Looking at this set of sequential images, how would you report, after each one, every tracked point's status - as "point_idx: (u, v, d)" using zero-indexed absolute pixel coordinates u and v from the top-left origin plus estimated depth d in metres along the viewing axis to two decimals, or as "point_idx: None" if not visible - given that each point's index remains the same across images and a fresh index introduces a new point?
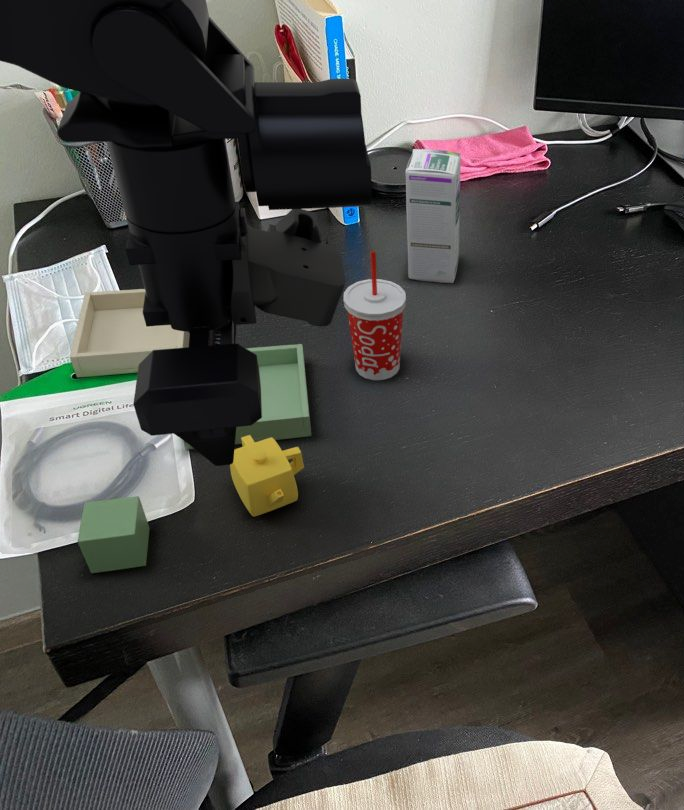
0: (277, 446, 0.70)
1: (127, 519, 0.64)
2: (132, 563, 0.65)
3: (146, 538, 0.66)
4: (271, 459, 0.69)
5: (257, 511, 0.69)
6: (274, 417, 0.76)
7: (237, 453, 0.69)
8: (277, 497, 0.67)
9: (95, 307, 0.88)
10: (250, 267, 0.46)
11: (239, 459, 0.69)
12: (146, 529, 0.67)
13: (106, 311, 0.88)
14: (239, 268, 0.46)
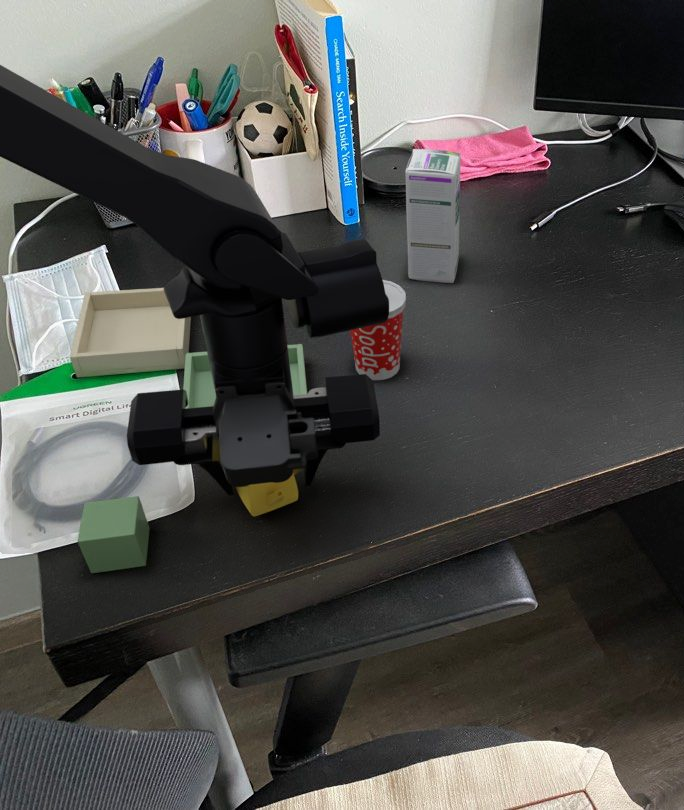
0: None
1: (127, 519, 0.64)
2: (132, 563, 0.65)
3: (146, 538, 0.66)
4: None
5: (257, 511, 0.69)
6: None
7: None
8: (277, 497, 0.67)
9: (95, 307, 0.88)
10: (223, 404, 0.60)
11: None
12: (146, 529, 0.67)
13: (106, 311, 0.88)
14: (216, 397, 0.60)
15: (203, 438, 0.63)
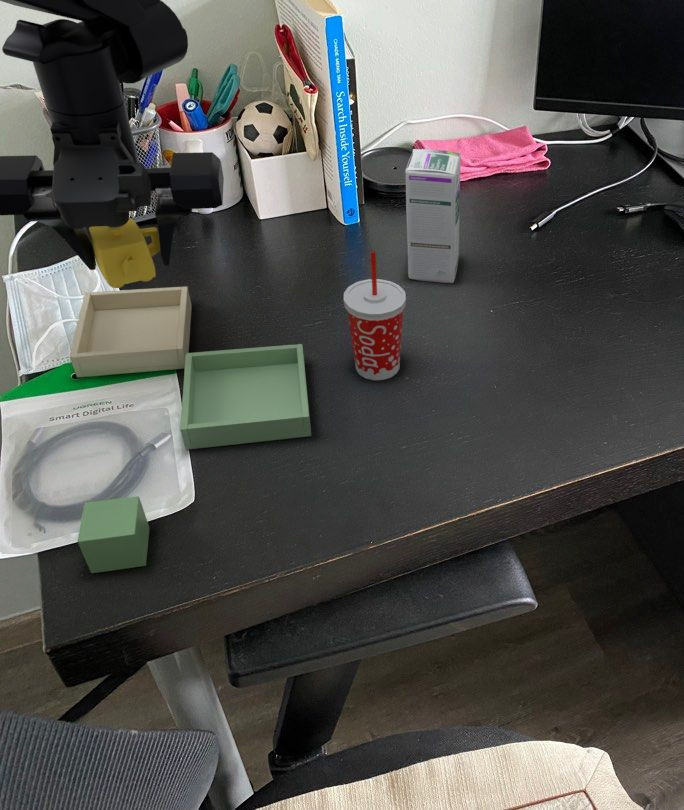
0: (135, 225, 0.76)
1: (127, 519, 0.64)
2: (132, 563, 0.65)
3: (146, 538, 0.66)
4: (127, 233, 0.75)
5: (114, 281, 0.74)
6: (274, 417, 0.76)
7: (95, 228, 0.75)
8: (128, 262, 0.72)
9: (95, 307, 0.88)
10: (61, 152, 0.65)
11: (97, 232, 0.74)
12: (146, 529, 0.67)
13: (106, 311, 0.88)
14: None
15: (50, 195, 0.69)
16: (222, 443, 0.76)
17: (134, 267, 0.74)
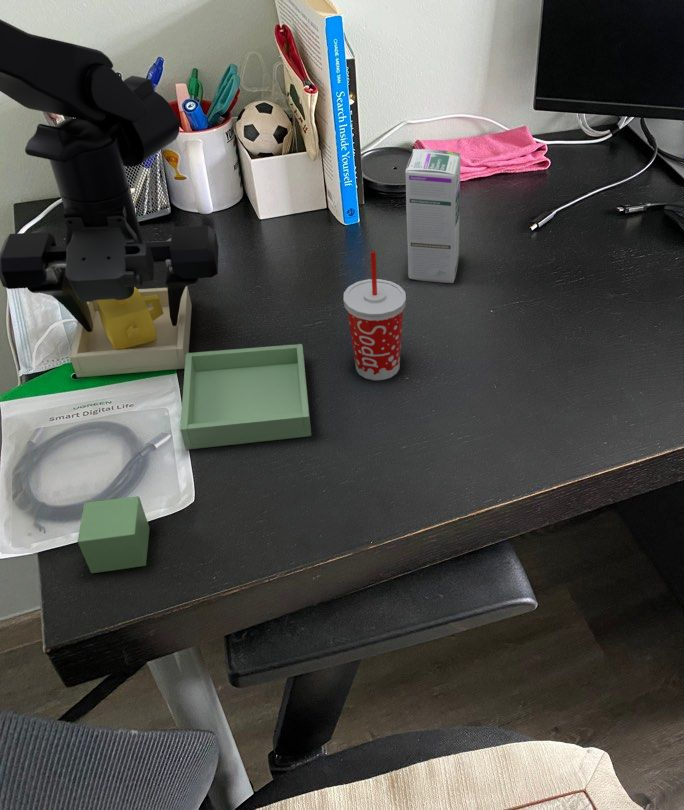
0: (138, 293, 0.84)
1: (127, 519, 0.64)
2: (132, 563, 0.65)
3: (146, 538, 0.66)
4: (131, 302, 0.82)
5: (119, 345, 0.82)
6: (274, 417, 0.76)
7: None
8: (132, 329, 0.80)
9: (95, 307, 0.88)
10: (73, 233, 0.73)
11: (104, 301, 0.82)
12: (146, 529, 0.67)
13: None
14: None
15: (52, 269, 0.76)
16: (222, 443, 0.76)
17: (138, 333, 0.81)
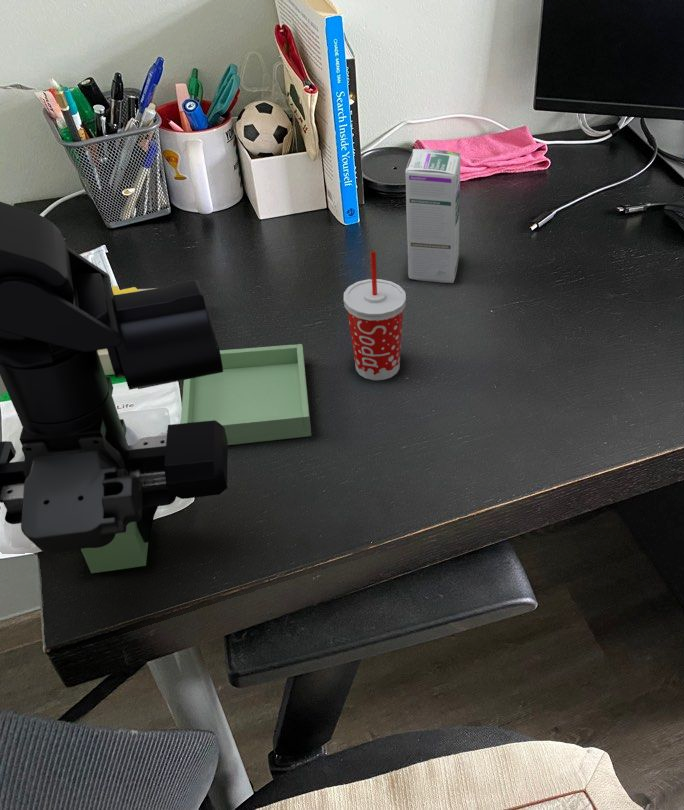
0: None
1: None
2: (132, 563, 0.65)
3: None
4: None
5: None
6: (274, 417, 0.76)
7: None
8: None
9: None
10: (33, 462, 0.54)
11: None
12: None
13: None
14: None
15: None
16: None
17: None
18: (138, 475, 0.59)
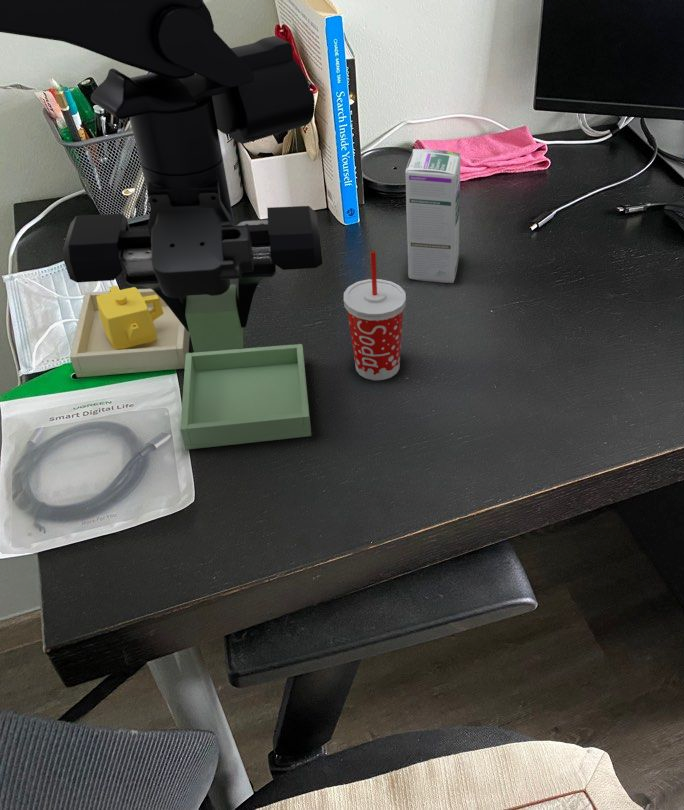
0: (138, 293, 0.84)
1: (228, 300, 0.69)
2: (231, 343, 0.70)
3: None
4: (131, 302, 0.82)
5: (119, 345, 0.82)
6: (274, 417, 0.76)
7: (102, 297, 0.83)
8: (132, 329, 0.80)
9: (95, 307, 0.88)
10: (157, 214, 0.60)
11: (104, 301, 0.82)
12: None
13: None
14: None
15: None
16: (222, 443, 0.76)
17: (138, 333, 0.81)
18: None
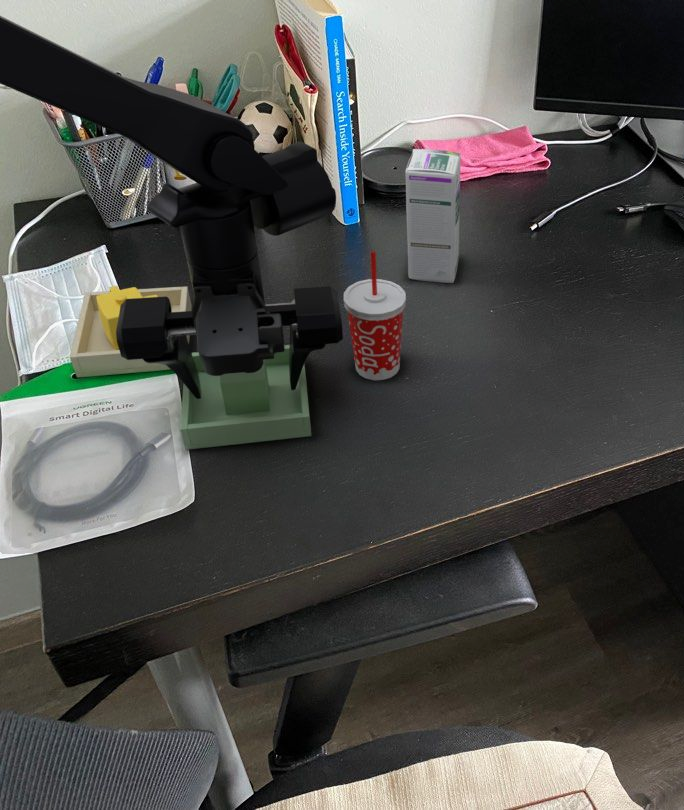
0: (138, 293, 0.84)
1: None
2: (259, 407, 0.78)
3: (268, 390, 0.80)
4: None
5: None
6: (274, 417, 0.76)
7: (102, 297, 0.83)
8: None
9: (95, 307, 0.88)
10: (200, 302, 0.68)
11: (104, 301, 0.82)
12: (268, 383, 0.81)
13: None
14: (194, 296, 0.68)
15: (169, 338, 0.71)
16: (222, 443, 0.76)
17: None
18: None
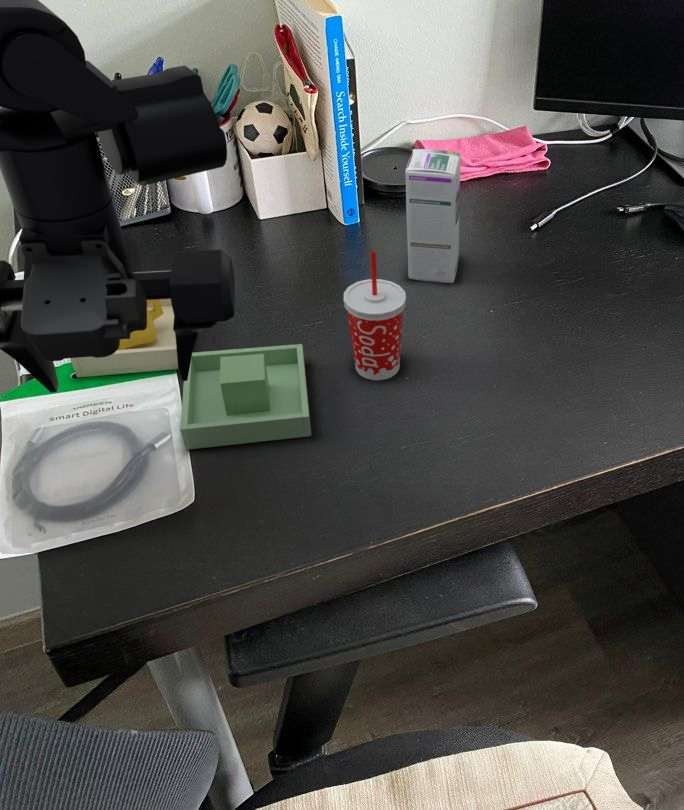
0: None
1: (257, 369, 0.77)
2: (259, 407, 0.78)
3: (268, 390, 0.80)
4: None
5: (119, 345, 0.82)
6: (274, 417, 0.76)
7: None
8: None
9: None
10: (33, 265, 0.52)
11: None
12: (268, 383, 0.81)
13: None
14: None
15: None
16: (222, 443, 0.76)
17: (138, 333, 0.81)
18: None
